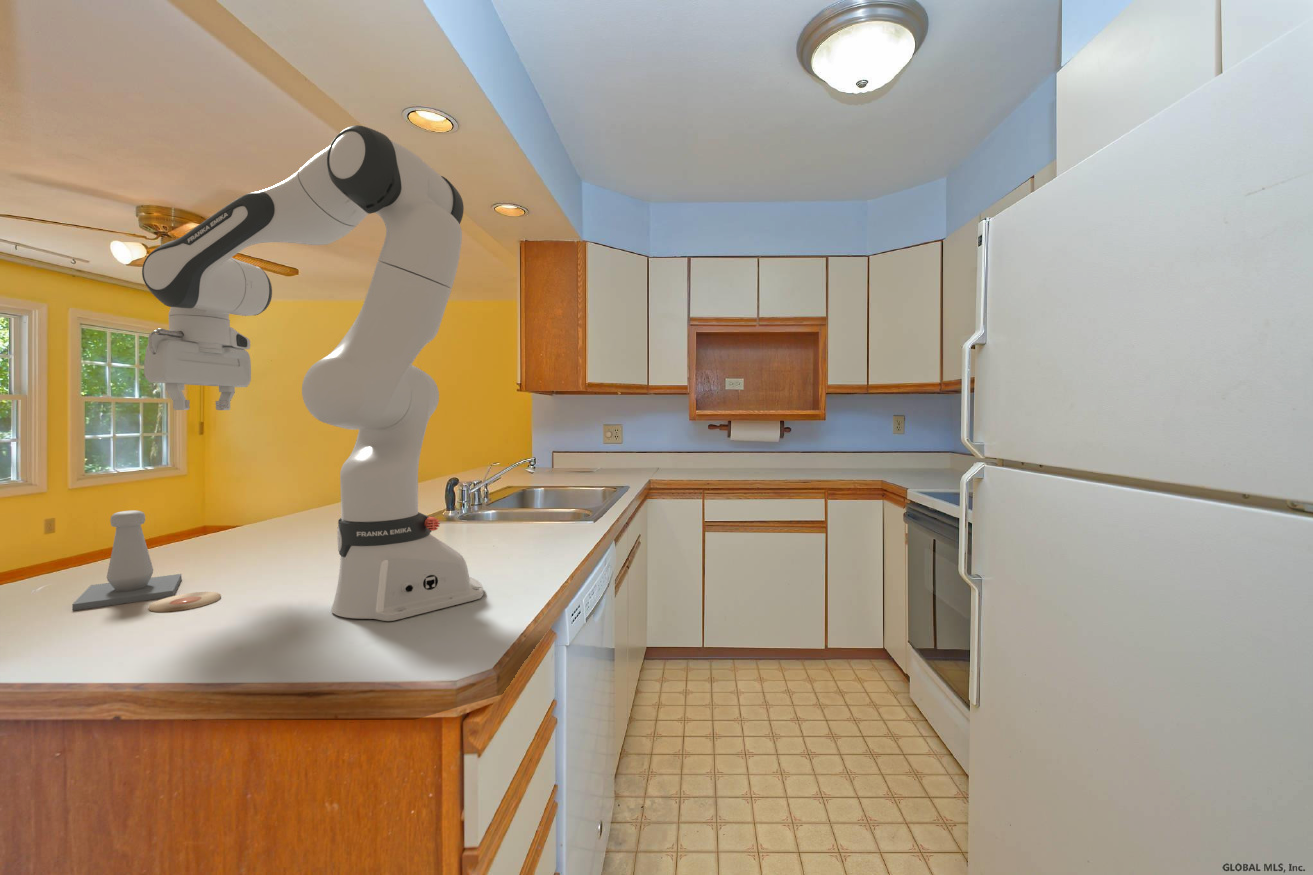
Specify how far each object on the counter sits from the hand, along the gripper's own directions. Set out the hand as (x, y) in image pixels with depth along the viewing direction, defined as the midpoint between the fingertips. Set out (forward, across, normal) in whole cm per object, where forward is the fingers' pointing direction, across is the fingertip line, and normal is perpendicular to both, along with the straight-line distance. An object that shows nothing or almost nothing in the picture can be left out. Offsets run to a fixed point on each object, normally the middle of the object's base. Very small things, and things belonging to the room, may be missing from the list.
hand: (203, 410), depth 106 cm
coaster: (+31, -15, -8) cm, 35 cm away
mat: (+31, -11, +5) cm, 33 cm away
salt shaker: (+30, -11, +5) cm, 32 cm away
